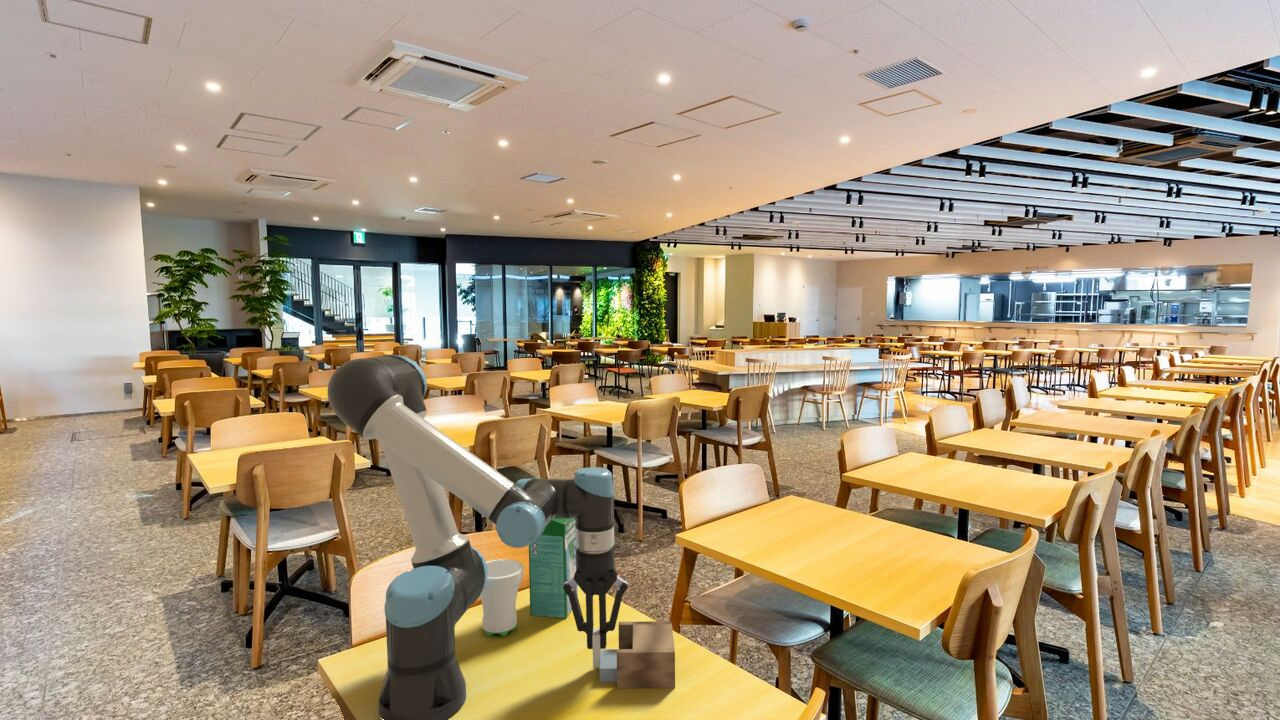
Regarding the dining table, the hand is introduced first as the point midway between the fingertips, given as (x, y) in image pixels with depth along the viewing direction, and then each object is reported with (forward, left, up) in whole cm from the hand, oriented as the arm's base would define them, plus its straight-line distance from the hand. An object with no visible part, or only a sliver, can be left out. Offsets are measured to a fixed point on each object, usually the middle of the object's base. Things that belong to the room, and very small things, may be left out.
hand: (597, 663), depth 124 cm
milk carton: (-12, +27, -2) cm, 30 cm away
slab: (+6, 0, -2) cm, 6 cm away
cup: (-23, +17, -2) cm, 29 cm away
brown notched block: (+10, 0, -2) cm, 10 cm away
